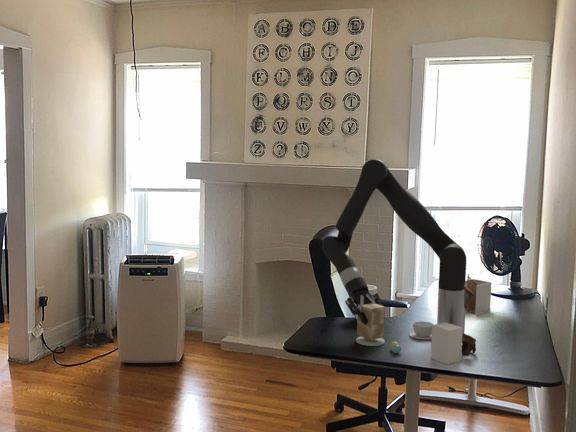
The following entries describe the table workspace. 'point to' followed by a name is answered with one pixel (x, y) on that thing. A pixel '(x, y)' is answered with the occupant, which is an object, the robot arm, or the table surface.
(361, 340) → the felt mat
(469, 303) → the two-tone wooden box
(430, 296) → the table surface
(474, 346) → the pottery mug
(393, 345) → the amber marble
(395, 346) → the teal marble
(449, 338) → the tall cream pedestal
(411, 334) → the teacup
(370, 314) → the tan cardboard box
